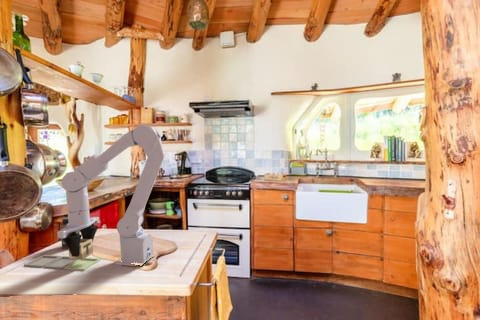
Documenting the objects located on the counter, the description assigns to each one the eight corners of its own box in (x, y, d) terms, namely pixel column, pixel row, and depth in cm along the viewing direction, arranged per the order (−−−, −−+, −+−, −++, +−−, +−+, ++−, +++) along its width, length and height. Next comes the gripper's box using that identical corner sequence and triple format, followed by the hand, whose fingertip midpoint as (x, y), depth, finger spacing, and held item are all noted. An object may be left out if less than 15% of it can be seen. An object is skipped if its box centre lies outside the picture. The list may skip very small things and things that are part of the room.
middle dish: (80, 259, 90) (80, 257, 90) (63, 270, 83) (63, 267, 83) (62, 258, 91) (62, 256, 91) (44, 268, 84) (43, 265, 84)
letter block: (93, 253, 87) (92, 238, 87) (82, 259, 82) (81, 244, 82) (80, 252, 88) (79, 238, 88) (69, 258, 83) (68, 243, 83)
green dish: (100, 261, 88) (100, 258, 88) (84, 271, 81) (84, 268, 81) (82, 259, 90) (81, 257, 89) (64, 270, 83) (64, 267, 83)
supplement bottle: (84, 244, 103) (82, 215, 103) (73, 250, 98) (70, 219, 97) (69, 244, 104) (67, 215, 103) (58, 250, 98) (55, 219, 97)
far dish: (61, 258, 91) (61, 256, 91) (42, 268, 84) (42, 265, 84) (44, 257, 93) (43, 254, 92) (24, 267, 86) (23, 264, 86)
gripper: (85, 203, 92) (88, 242, 93) (46, 216, 78) (51, 262, 79) (103, 204, 90) (106, 243, 92) (67, 217, 76) (71, 263, 77)
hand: (82, 252), depth 85 cm, fingers closed on letter block, 5 cm apart
